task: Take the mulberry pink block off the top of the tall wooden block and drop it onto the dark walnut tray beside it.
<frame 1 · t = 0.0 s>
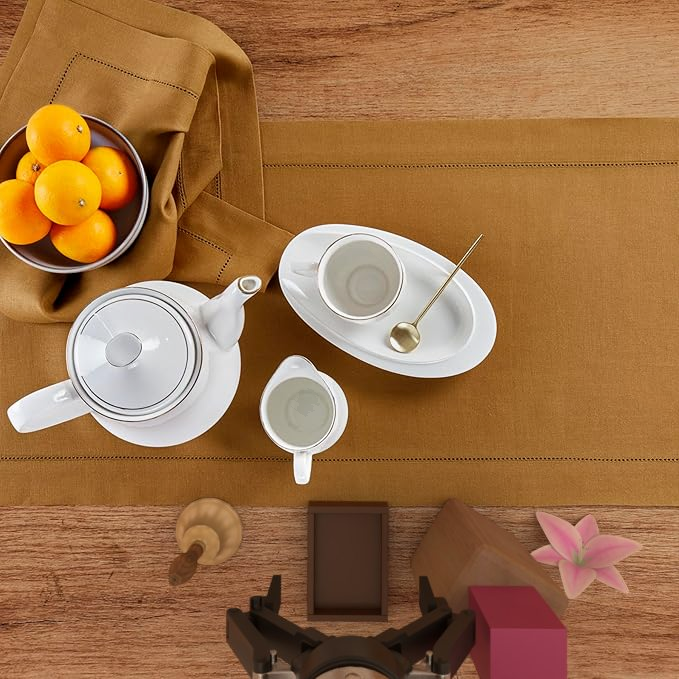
hand: (350, 589, 61), 19 cm above the table, tool pointing down, fingers open, 13 cm apart
tray: (347, 556, 80), on the table
pink block: (501, 618, 60), point 20 cm above the table, touching wooden block
hand bell: (209, 530, 80), on the table
lily: (568, 541, 80), on the table
wooden block: (461, 548, 80), on the table, touching pink block
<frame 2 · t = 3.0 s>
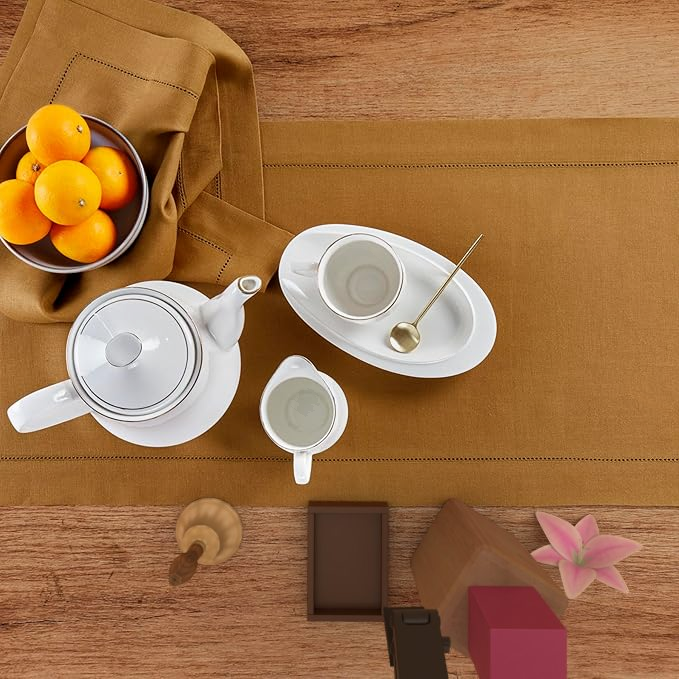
nothing on the table moved.
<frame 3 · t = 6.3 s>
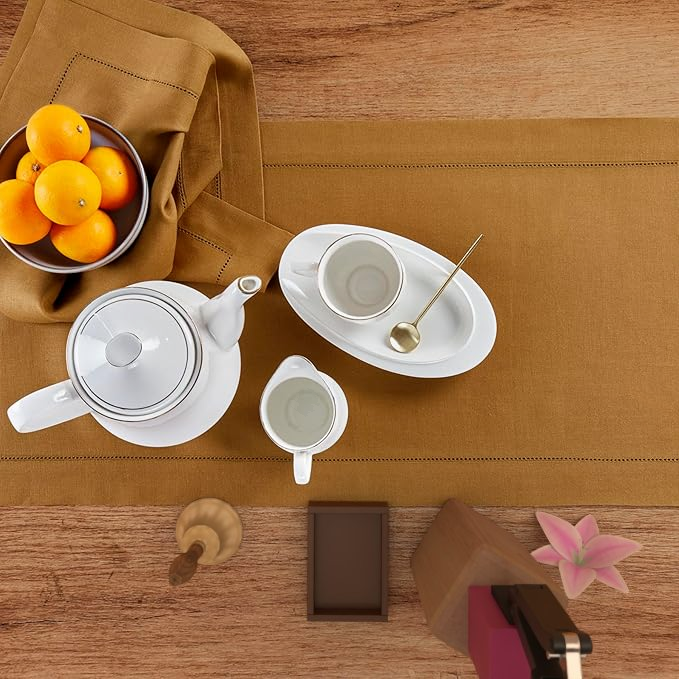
hand: (506, 627, 58), 22 cm above the table, tool pointing down, fingers closed on pink block, 6 cm apart
pink block: (500, 618, 60), point 20 cm above the table, touching gripper, wooden block
everything else where it was.
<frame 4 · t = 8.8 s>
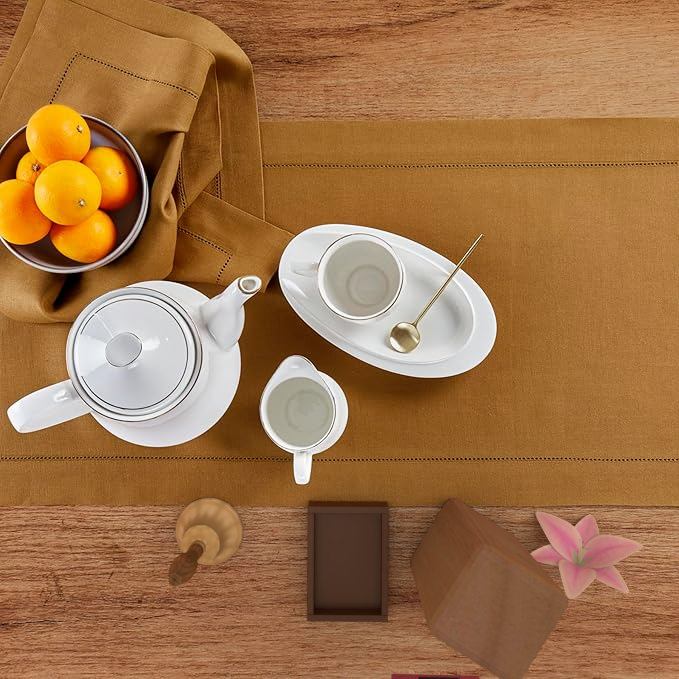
wooden block: (461, 548, 80), on the table
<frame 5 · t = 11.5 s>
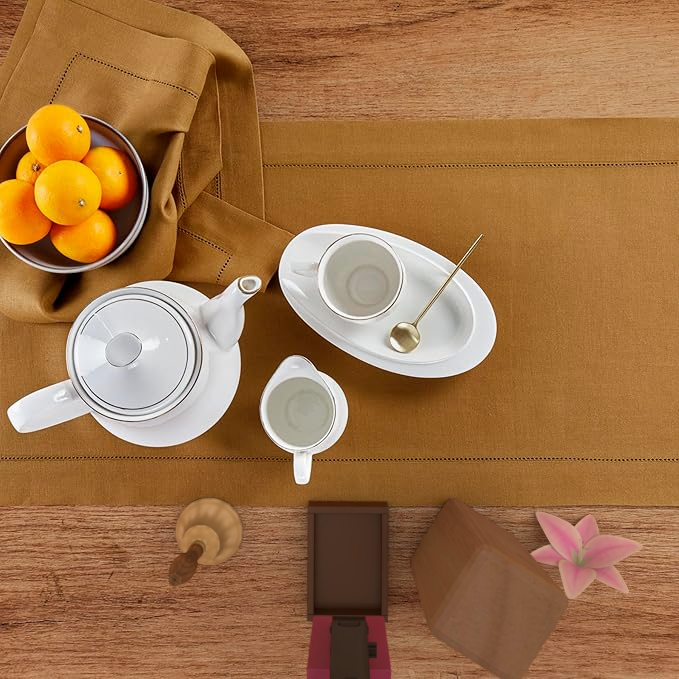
hand: (348, 662, 53), 27 cm above the table, tool pointing down, fingers closed on pink block, 6 cm apart
pink block: (348, 651, 55), point 25 cm above the table, touching gripper
everything else where it was.
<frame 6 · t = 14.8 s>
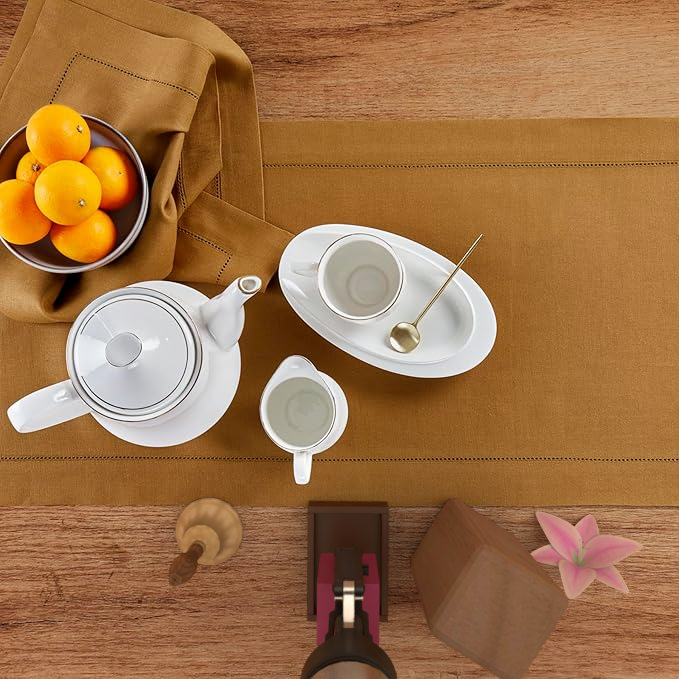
hand: (348, 587, 69), 10 cm above the table, tool pointing down, fingers closed on pink block, 6 cm apart
pink block: (347, 580, 71), point 8 cm above the table, touching gripper
everything else where it was.
when the fingers open (3 cm above the table, at t = 17.0 s): pink block stays where it is, resting on tray.
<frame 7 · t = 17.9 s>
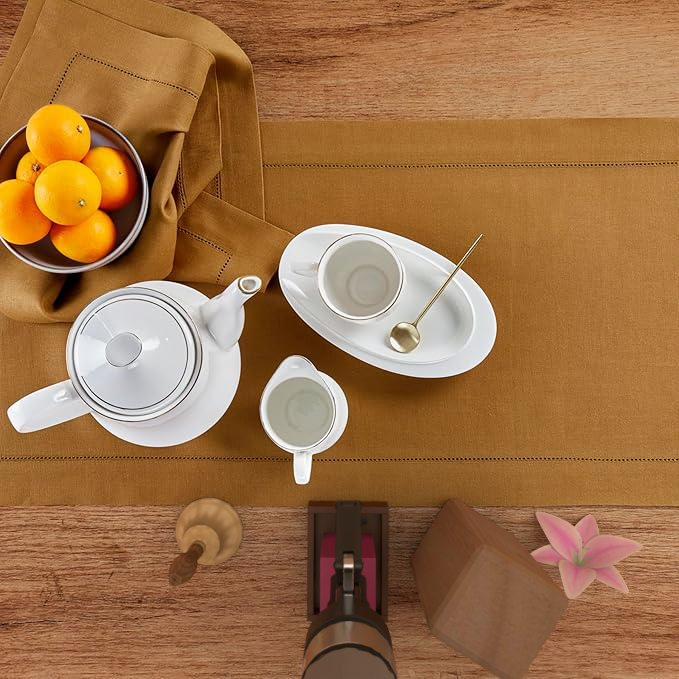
hand: (347, 572, 74), 5 cm above the table, tool pointing down, fingers open, 13 cm apart
pink block: (347, 558, 79), point 1 cm above the table, touching tray
everything else where it was.
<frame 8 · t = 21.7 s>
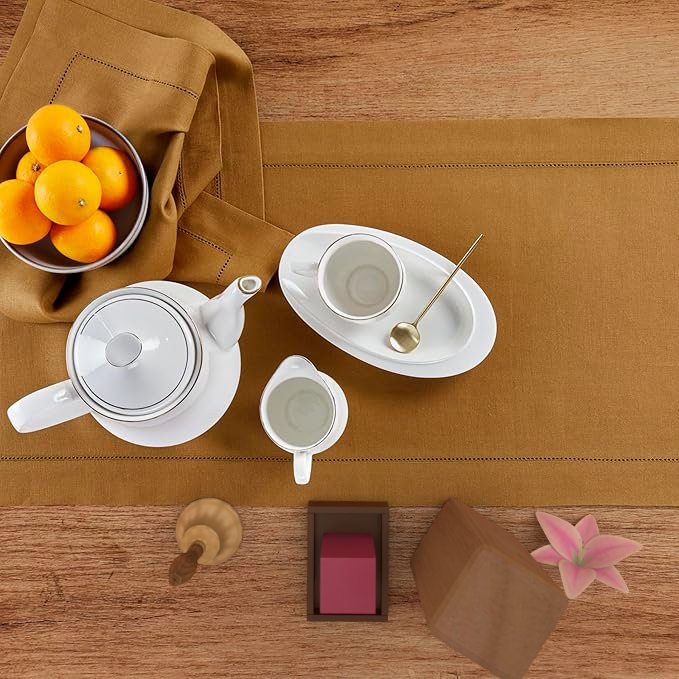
nothing on the table moved.
at the end: pink block inside the target area on the tray (0.1 cm from its centre), point 0.8 cm above the tray's base; the gripper is holding nothing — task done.
